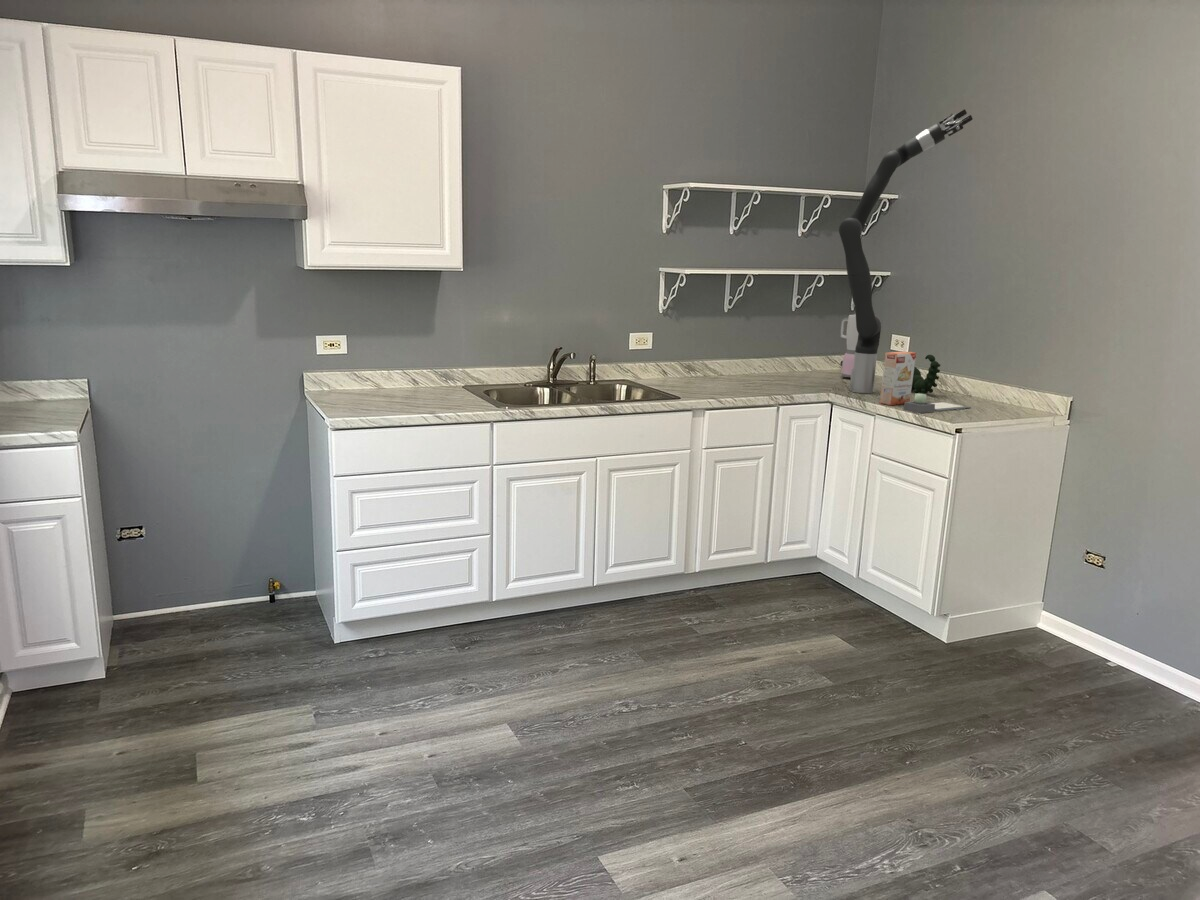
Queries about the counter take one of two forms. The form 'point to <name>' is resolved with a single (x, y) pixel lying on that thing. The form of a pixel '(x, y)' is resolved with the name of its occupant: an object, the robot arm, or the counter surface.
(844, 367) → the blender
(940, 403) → the mat
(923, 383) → the toy figurine
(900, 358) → the cracker box
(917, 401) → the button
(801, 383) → the counter surface
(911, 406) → the grey square holder
